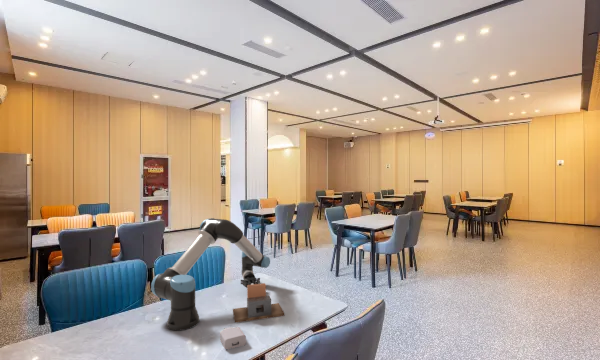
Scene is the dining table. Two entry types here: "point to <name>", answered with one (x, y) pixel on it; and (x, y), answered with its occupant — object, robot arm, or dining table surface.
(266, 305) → the socket
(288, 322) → the dining table surface
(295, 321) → the dining table surface
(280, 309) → the base board
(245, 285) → the robot arm
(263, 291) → the orange block
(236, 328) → the charger
